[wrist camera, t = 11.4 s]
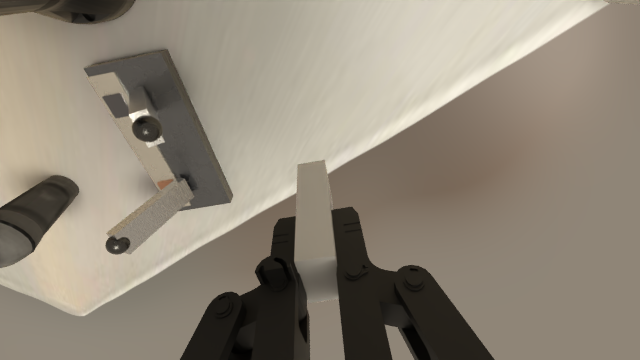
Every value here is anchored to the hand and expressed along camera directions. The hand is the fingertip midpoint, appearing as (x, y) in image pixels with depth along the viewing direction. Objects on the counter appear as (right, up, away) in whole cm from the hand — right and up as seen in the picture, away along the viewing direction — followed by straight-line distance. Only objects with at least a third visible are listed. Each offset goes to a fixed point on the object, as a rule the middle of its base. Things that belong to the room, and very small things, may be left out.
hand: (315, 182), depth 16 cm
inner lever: (-23, +11, +21) cm, 33 cm away
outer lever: (-21, -1, +29) cm, 36 cm away
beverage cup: (-42, -1, +31) cm, 52 cm away
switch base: (-22, +6, +27) cm, 35 cm away
